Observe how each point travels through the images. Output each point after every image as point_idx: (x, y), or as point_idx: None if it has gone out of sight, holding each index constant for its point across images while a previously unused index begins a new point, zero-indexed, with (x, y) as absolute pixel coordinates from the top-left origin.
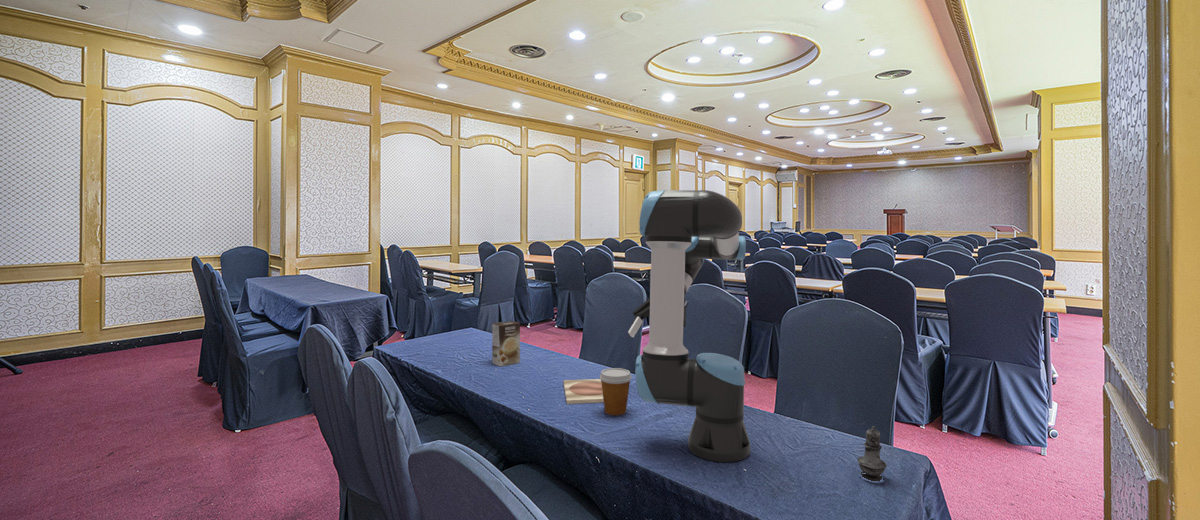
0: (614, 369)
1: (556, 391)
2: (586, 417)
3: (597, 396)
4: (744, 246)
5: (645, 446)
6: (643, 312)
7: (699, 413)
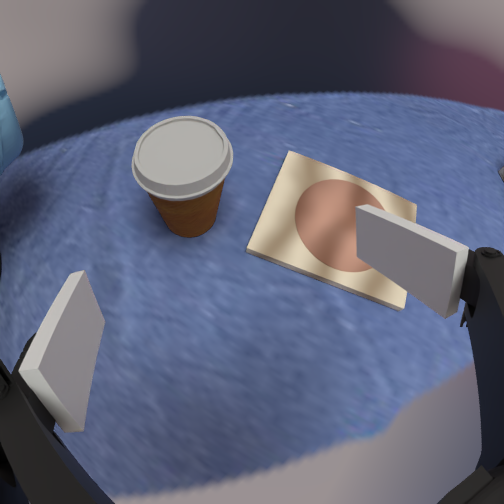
0: (218, 163)
1: (369, 174)
2: None
3: (283, 211)
4: None
5: (39, 185)
6: (490, 285)
7: None
